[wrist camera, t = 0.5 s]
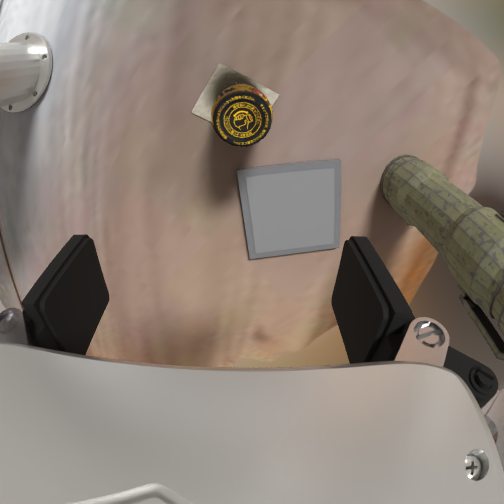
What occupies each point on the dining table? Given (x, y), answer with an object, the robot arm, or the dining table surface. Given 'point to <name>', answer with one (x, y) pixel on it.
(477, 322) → the thermos
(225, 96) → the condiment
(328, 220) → the plate
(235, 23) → the dining table surface
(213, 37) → the dining table surface
